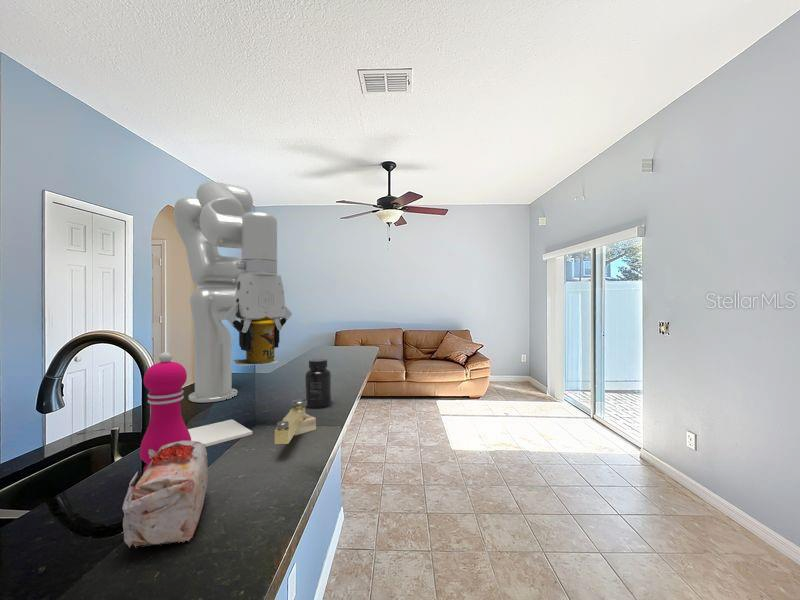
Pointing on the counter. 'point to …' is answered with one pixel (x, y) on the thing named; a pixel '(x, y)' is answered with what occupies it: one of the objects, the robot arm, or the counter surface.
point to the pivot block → (306, 425)
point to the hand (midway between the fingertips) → (260, 347)
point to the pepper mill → (164, 406)
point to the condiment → (260, 343)
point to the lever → (290, 422)
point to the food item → (167, 495)
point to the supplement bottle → (318, 384)
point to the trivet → (218, 432)
